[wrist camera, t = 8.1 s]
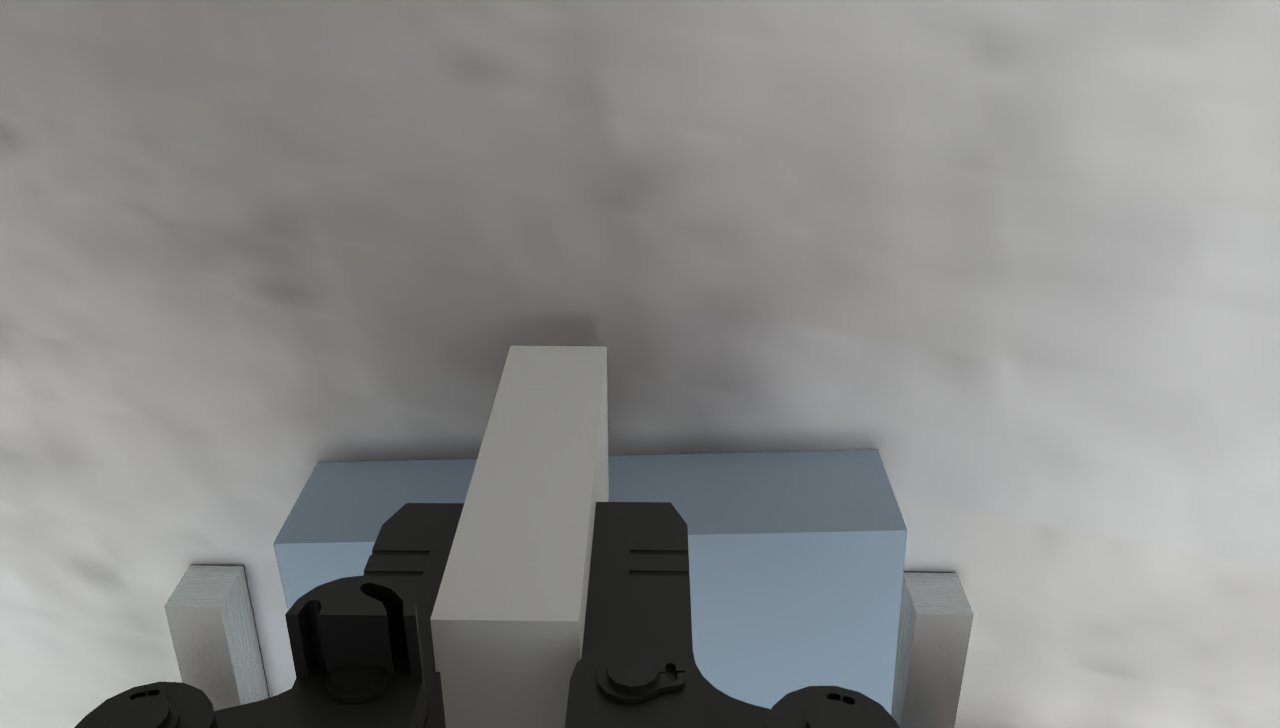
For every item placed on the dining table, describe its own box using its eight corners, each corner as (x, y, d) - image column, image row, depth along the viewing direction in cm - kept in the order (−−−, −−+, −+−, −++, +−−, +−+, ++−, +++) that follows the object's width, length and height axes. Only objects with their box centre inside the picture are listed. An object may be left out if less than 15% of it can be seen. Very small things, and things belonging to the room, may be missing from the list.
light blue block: (391, 802, 24) (358, 925, 21) (325, 448, 20) (273, 544, 17) (848, 795, 24) (873, 919, 21) (872, 435, 20) (907, 529, 17)
